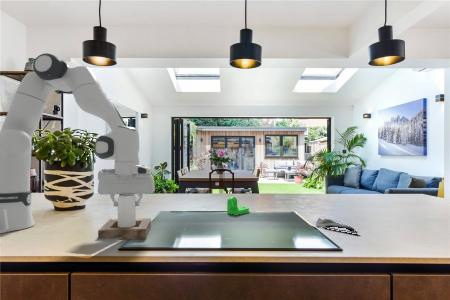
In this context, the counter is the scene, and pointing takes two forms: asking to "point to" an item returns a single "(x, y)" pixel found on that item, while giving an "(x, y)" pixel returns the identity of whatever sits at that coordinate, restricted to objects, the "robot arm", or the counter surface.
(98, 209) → the counter surface
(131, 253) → the counter surface
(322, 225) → the cloth
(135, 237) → the socket block
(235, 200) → the mechanical part
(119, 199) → the can
